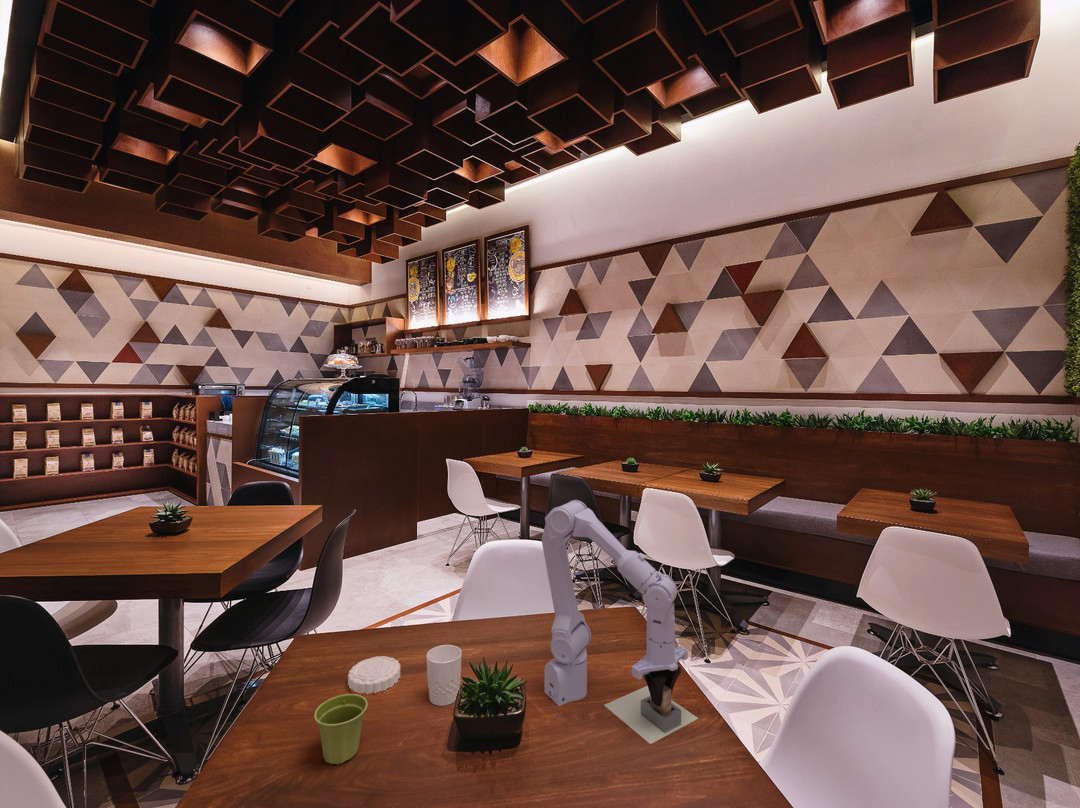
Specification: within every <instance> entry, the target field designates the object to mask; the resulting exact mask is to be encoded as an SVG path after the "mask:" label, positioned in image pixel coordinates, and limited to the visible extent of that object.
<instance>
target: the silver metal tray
mask: <svg viewBox="0 0 1080 808" xmlns="http://www.w3.org/2000/svg"><path fill="white" fill-rule="evenodd" d="M641 715H642V716H643V717H645V718H646V719H647V720H648V721H650V722H651V723H652V724H653V725H655V726H656V727H657V728H659V729H660V730H661V731H662V732H664V733H666V732H668V731H670V730H672V729H674V728H676V727H678V726H680V725H681V710H680V709H679V708H677V707H676V706H675V705H673V704H672V703H671V712H669V713H667V714H665V715H664V714H663V713H661V712H660V711H659V710H657V709H656V708H655V707H653V706H652V705H651V704H650V696H649V697H647V698H645V699H643V700H641Z"/></svg>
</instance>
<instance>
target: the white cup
mask: <svg viewBox="0 0 1080 808" xmlns="http://www.w3.org/2000/svg"><path fill="white" fill-rule="evenodd" d="M462 655H463V652H462V649H461V648H460V647H459V646H456V645H453V644H441V645H437V646H434V647H432V648H430V649H429V650H428V651H427V653H426V674H427V687H428V699H429V702H430V703H431V704H433V705H435V706H438V707H442V706H443V707H444V706H449V705H451V704H454V703H455V702H456V701H457V700H456V696H457V693H458V690H459V691H460V686H461V675H462ZM455 700H456V701H455Z"/></svg>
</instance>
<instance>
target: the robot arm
mask: <svg viewBox="0 0 1080 808" xmlns="http://www.w3.org/2000/svg"><path fill="white" fill-rule="evenodd" d="M544 521H545V525H544V528H543V533H542V536H541V545H542V551H543V555H544V560H545V567H546V571H547V572H546V573H547V578H548V583H549V588H550V594H551V599H552V606H553V611H554V615H555V616H554V620H553V623H552V626H551V641H550V651H551V654H552V656H553V658H552V659H551V660H550V661H548V662H547V663H546V664H544V676H543V678H544V681H543V682H544V688H543V689H544V691H543V692H544V693H545V695H547V696H548V697H549V698H550V699H551V700H552V701H553V702H554V703H555V704H556V705H557V706H558V707H560V706H563V705H565V704H567V703H570V702H574V701H579V700H582V699H584V698H585V697H586V696H587V694H588V686H587V685H588V653H587V646H588V645H589V644H590V642H591V640H592V632H591V629H590V627H589V626H588V624H587V623H586V618H585V615H584V614H583V613H582V612H580V611H579V608H578V603H577V599H576V592H575V588H574V586H575V585H574V581H573V575H572V570H571V566H570V561H569V554H568V549H567V541H568V540H569V539H570V538H571V536H572V537H577V538H578V537H579V538H588V539H589V540H591V541H592V542H593V543H594V544H596V545H597V546H598V547H599V548H600V549H601V550H602V551H603V552H605V553H606V554H607V555H608V556H609V557H610V558H612V560H614V561H615V563H616V568H617V572H618V573H620V574H621V576H623V577H624V579H626V580H627V581H628V582H629V583H630V584H631V585H632V586H633V587H634V589H636V590H637V591H638V592H639V593H640V594H641V595H642V600H643V603H644V605H645V606H646V610H647V611H646V653H645V655H644V656H642V658H641V659H639V661H637V663H635V664H632V665H631V676H633V677H634V678H636V679H637V680H638V681H639V680H642V679H643V678H644V680H645V682H646V686H648V689H649V692H650V696H651V700H652V702H653V703H654V704H655V705H657V706H658V707H659V706H661V704H662V693H663V687H664V685H665V686H667V687H668V688H670V689H671V696H672V694H673V690H674V687H675V684H676V682H677V681H678V678H679V676H680V675H681V673H682V668H681V666H679V664H678V663H679V662H680V660H683V661H686V660H688V659H689V658H688V656H689V652H688V651H689V650H688V649H686V648H685V647H682V646H678V647H675V646H676V643H675V642H676V639H675V638H676V635H675V634H676V633H675V632H676V629H675V627H676V626H675V624H676V623H675V621H676V619H675V618H676V616H675V603H674V601H675V600H676V597H677V595H678V587H677V584H676V583H675V581H674V580H673V578H672V577H671V576H670V575H668V574H663V573H662V572H660V570H658V571H657V570H656V568H655V567H653V566H652V565H651V563H649V562H648V561H647V560H646V556H645V555H644V554H643V553H642V552H640V553H639V552H637V550H628V549H626V547H624V545H623V544H622V543H621V542H620V541H619V540H618V539H617V537H615V536H614V535H613V534H612V532H611V531H609V530H608V528H607V527H605V525H604V524H603V523H602V522H601V521H600V520H599V519H598V518H597V516H596V514H595V513H594V511H593V510H592V509H590V508H589V507H587V505H586V504H585V503H584V502H583V501H580V500H578V499H574V500H573V499H572V500H570V501H569V502H567V503H565V504H562V505H560V506H556V507H554V508H552V509H551V510H550V511H549V512H548V514H547V515H546V516H545V517H544Z"/></svg>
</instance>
